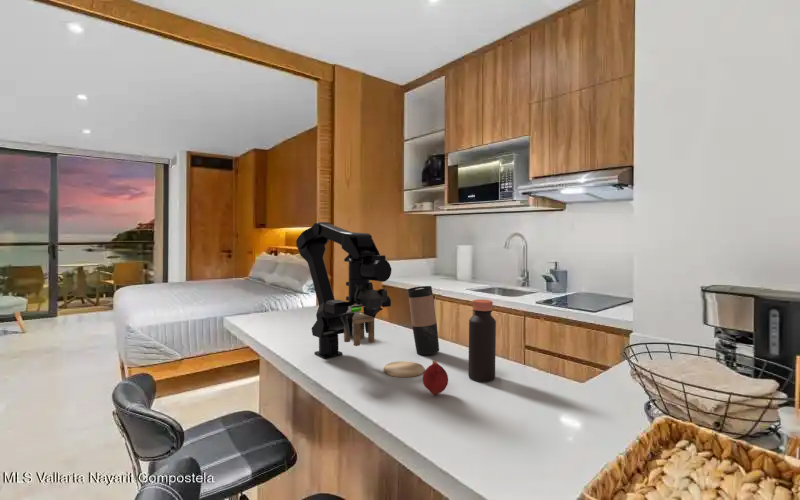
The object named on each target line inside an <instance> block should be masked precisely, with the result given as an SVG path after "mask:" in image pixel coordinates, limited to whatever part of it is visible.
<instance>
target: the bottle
mask: <svg viewBox="0 0 800 500" xmlns="http://www.w3.org/2000/svg"><path fill="white" fill-rule="evenodd" d="M493 303H494V302H493V301H492V300H489V299H474V300H473V301H472V312H473V315H472V316H471V317H470V319H469V321H468V368H467V370H468V377H469V379H471V380H472V381H474V382H479V383H488V382H493V381H494V380H495V378H496V345H497V343H496V340H497V339H496V336H497V335H496V334H497V333H496V331H497V320H496V319H495V318H494V316H493V315H492V312H493Z"/></svg>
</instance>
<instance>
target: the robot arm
mask: <svg viewBox="0 0 800 500" xmlns="http://www.w3.org/2000/svg"><path fill="white" fill-rule="evenodd" d="M329 241H331V242H334V243H336V244H339V245H340V246H341V250H343V251H344V252H346V253H347V255H346V257H344V260H343V261H344V262H346V263H347V262H348V281H346V282H345V286H348V296H345V300H341V299H335V296H334V292H333V288H332V286H331V282H330V277H329V275H328V271H327V267H326V264H325V261H324V255H325V252H326V245H327V244H328V243H329ZM295 245H296V247H297V250H298V252H299V255H300V257H301V258H303V260H304V261H306V262H307V266H308V268H309V269H308V270H309V273H310V277H311V280H312V285H313V288H314V291H315V296H316V299H317V302H318V308H317V310H316V315H315V317H316V321H315V323H313V326H312V327H311V333H312V336H313V337H317V338H318V350H317V351H314V355H316V356H318V357H320V358H323V359H328V358H332V357H333V358H334V357H337V356H342V355H343V352H342V351H340V350H339V335H341V334H342V335H344V326H345V329H346V331H347V333H348V335H349V336H350V337H351V336H352V317H353V316H354V314H355V313H353V312H351V308H356V307H361V308H362V309H363V314H364V315H368V316H372V317H374V319H375V317H376V316H377V314H378V313H379V312H381V311H383V308H389V307H391V306H392V299H391V297H390V296H389V295H388V290H387V289H386V288H379V289H374V285H373V282H370V281H375V282H381V283H382V282H383V283H384V282H386V281H388V280H389V279H390V277H391V274H392V267H391V265H390V262H389V261H388V260H386V255H385V254H382V255H381V254H380V252H379V250H378V248H377V246H376V244H375V242H374V239H373V237H372V235H371V234H370V233H368V232H358V231H357V232H355V231H352V232H351V231H350V230H347V229H344V228H341V227H339V226H337V225H334V224H332V223H330V222H327V221H326V222H325V221H323V222H322V221H320V222H319V221H316V222H315V223H313V225H312V226H310V227H309V228H307V229H305V230H303V231H302V232H301V233H300V235H299V236H298V237H297V238H296V241H295ZM364 331H365V332H366V334H368V322H365V323H364Z"/></svg>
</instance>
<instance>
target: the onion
mask: <svg viewBox="0 0 800 500" xmlns="http://www.w3.org/2000/svg"><path fill="white" fill-rule="evenodd" d="M422 383H423V385H424V387H425V389H426V390H428V391H429V393H431V394H432V395H433V396H437V395H439V394H440V393H441V392H444V390H445V389H446V388H447V386H448V384H449V375H448V373H447V371H446V369H445V368H444V367H443V366H442V365H440V364H439V363H438V362H437V361H436V360H435V359H434V360H432V364H430V365H429V366H427V368H426V369H424V372H423V373H422Z"/></svg>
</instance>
